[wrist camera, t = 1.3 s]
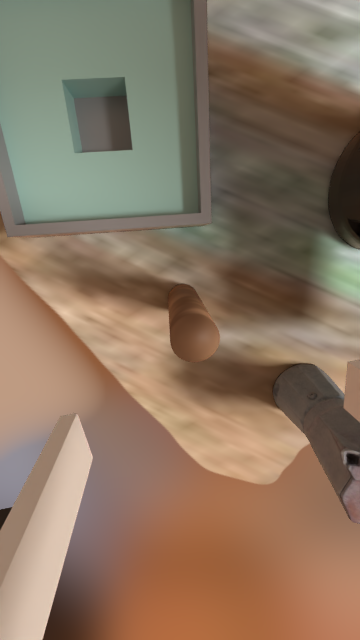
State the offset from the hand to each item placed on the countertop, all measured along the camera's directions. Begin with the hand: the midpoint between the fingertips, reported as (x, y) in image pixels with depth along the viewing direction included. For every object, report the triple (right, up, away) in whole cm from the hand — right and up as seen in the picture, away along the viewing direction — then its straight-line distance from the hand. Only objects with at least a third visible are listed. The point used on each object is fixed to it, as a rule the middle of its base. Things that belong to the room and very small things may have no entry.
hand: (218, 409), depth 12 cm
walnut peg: (-1, +7, +21) cm, 22 cm away
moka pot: (+18, -6, +27) cm, 33 cm away
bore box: (-10, +25, +15) cm, 30 cm away
